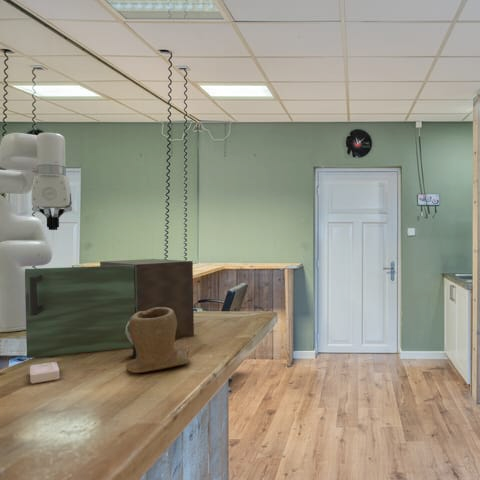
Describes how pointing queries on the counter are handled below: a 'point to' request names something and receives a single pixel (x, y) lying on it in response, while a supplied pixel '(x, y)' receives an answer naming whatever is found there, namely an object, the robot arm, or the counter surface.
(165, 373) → the counter surface
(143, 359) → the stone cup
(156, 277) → the cupboard
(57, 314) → the cupboard door
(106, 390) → the counter surface
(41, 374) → the soap bar
